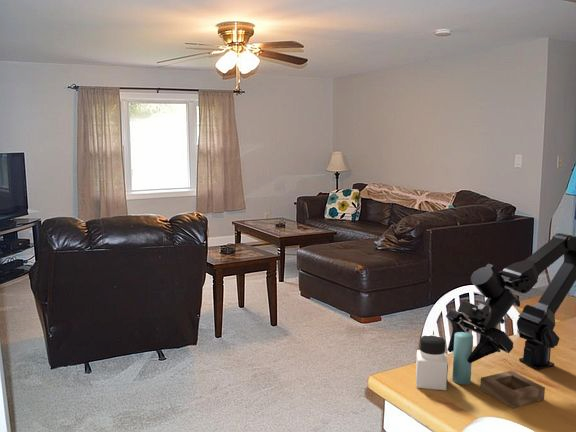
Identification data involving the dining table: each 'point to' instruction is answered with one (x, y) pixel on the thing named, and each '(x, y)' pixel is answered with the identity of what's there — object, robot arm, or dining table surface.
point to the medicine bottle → (431, 363)
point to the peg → (462, 358)
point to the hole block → (513, 398)
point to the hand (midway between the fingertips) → (458, 356)
